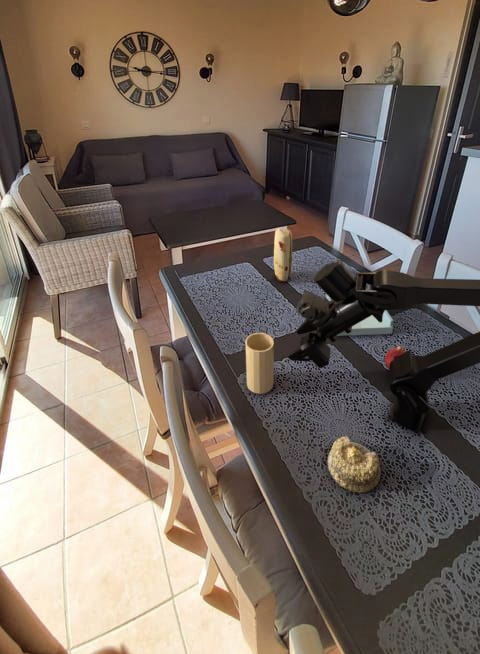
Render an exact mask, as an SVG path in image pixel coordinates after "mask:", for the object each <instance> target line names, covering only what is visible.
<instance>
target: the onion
mask: <svg viewBox="0 0 480 654" xmlns="http://www.w3.org/2000/svg"><path fill="white" fill-rule="evenodd" d="M405 352H406V351H405V350H404V349H403V347H402V346H400V345H399V346H397V347H395V348H392V349H390V350H388V351H387V352H386V354H385V357H384V364H385V366H386V368H387V369H388V370H389V366H390V362H391V361H392V360H394V356H399V355H402V354H403V353H405Z"/></svg>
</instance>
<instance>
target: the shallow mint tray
mask: <svg viewBox="0 0 480 654" xmlns="http://www.w3.org/2000/svg"><path fill="white" fill-rule="evenodd" d="M325 297H326V298H327V299H328V300H329V301H331V300H332V299H331V298H330V297H329V296H328V295H327V294H326V293H325ZM333 301H334V300H333ZM393 330H394V318H392V316H391V315H390V314H389V311H388V310H385V311H384V313H383V318H382V322H381V323H380V322H378V321H377V319H376V318H375V317H374V316H373V315H372V316H370V317H368V318H366V319H365V320H363V321H361V322H359V323H358V324H356V325H354V326H352V331H351V332H350V333H348V334H347V333H346V332H345V331H344V332H342V333H340V334H338V335H337V337H342V336H343V337H344V336H373V335H374V336H377V335H392V334H393Z"/></svg>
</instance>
